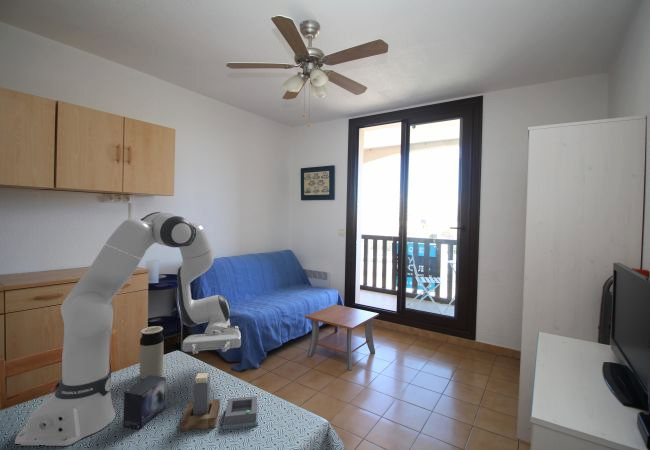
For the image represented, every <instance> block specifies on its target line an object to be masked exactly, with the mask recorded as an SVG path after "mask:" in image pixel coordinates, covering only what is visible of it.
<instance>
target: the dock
mask: <svg viewBox="0 0 650 450" xmlns="http://www.w3.org/2000/svg"><path fill="white" fill-rule="evenodd" d="M258 425H259V402H258V396H257V395H254V396H253V395H252V396H244V397H233V398H228V399H227V403H226V409H225V414H224V419H223V423H222V430H231V429H238V428H239V429H241V428H249V427H256V426H258Z"/></svg>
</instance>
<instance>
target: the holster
mask: <svg viewBox="0 0 650 450" xmlns="http://www.w3.org/2000/svg"><path fill="white" fill-rule="evenodd" d="M220 400H221V399H219V398H218V399H216V398H215V399H210V406H209V414H205V415H195V416H193V401H189V402H188V403H187V406H186V407H185V410H184V413H183V415H182V417H181V421H180V432H188V431H198V430H205V429H214V428H216V425H217V422H218V417H219V412H220V409H221V408H220V405H221V403H220Z"/></svg>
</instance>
